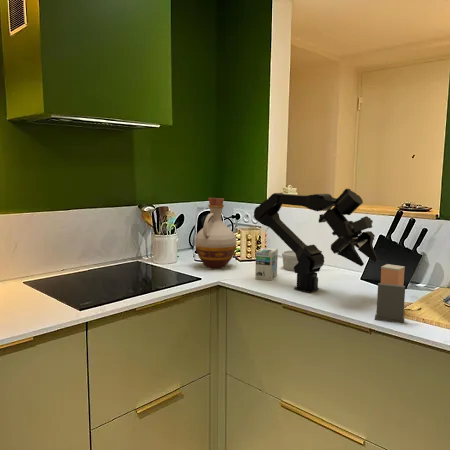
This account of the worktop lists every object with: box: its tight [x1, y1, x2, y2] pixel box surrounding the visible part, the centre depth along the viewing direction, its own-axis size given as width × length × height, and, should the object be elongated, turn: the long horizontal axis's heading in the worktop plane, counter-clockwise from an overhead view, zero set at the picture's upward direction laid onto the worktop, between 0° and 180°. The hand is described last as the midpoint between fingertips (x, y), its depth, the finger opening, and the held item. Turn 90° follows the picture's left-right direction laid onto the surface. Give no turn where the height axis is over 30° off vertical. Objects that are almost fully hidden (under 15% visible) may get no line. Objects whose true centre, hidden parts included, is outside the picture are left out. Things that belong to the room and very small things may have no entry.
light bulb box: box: [254, 247, 279, 281], centre depth 164 cm, size 11×7×11 cm, turn 161°
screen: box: [374, 282, 406, 325], centre depth 116 cm, size 8×3×10 cm, turn 67°
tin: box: [380, 263, 406, 286], centre depth 125 cm, size 5×5×13 cm
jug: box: [194, 197, 237, 270], centre depth 178 cm, size 20×18×30 cm
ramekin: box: [281, 249, 298, 272], centre depth 179 cm, size 13×13×7 cm
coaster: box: [404, 301, 414, 308], centre depth 129 cm, size 7×7×1 cm
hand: (369, 263), depth 129 cm, fingers open, 9 cm apart
